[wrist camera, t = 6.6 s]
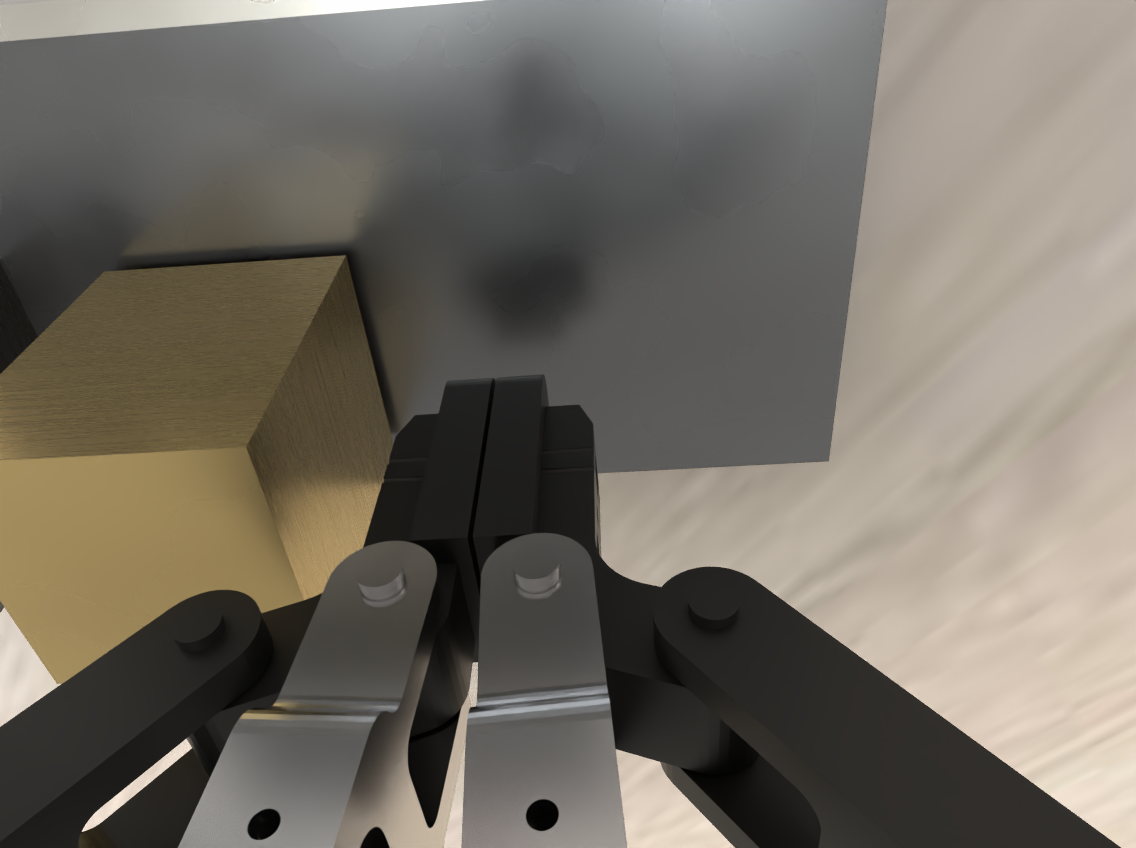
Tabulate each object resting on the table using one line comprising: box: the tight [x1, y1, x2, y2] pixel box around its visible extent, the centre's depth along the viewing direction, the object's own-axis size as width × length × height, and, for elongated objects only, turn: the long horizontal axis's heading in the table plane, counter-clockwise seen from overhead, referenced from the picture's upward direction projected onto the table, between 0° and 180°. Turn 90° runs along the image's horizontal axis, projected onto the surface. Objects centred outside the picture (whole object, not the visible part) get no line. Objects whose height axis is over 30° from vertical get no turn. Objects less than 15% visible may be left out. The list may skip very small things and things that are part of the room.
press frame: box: [0, 0, 887, 612], centre depth 10 cm, size 16×17×6 cm
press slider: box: [0, 255, 393, 684], centre depth 13 cm, size 4×4×5 cm
